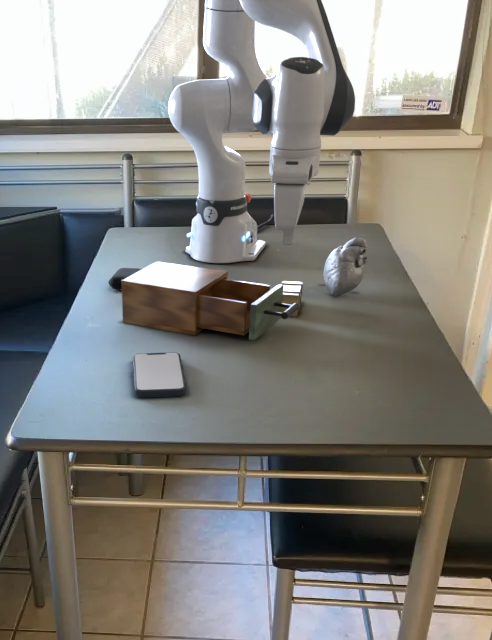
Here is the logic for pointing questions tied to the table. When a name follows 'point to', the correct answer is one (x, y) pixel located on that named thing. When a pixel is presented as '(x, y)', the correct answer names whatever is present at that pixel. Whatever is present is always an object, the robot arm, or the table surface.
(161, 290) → the cabinet
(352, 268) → the heart
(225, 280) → the drawer
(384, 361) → the table surface
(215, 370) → the table surface
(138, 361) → the smartphone
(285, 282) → the bundle
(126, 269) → the carrying case
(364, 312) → the table surface
